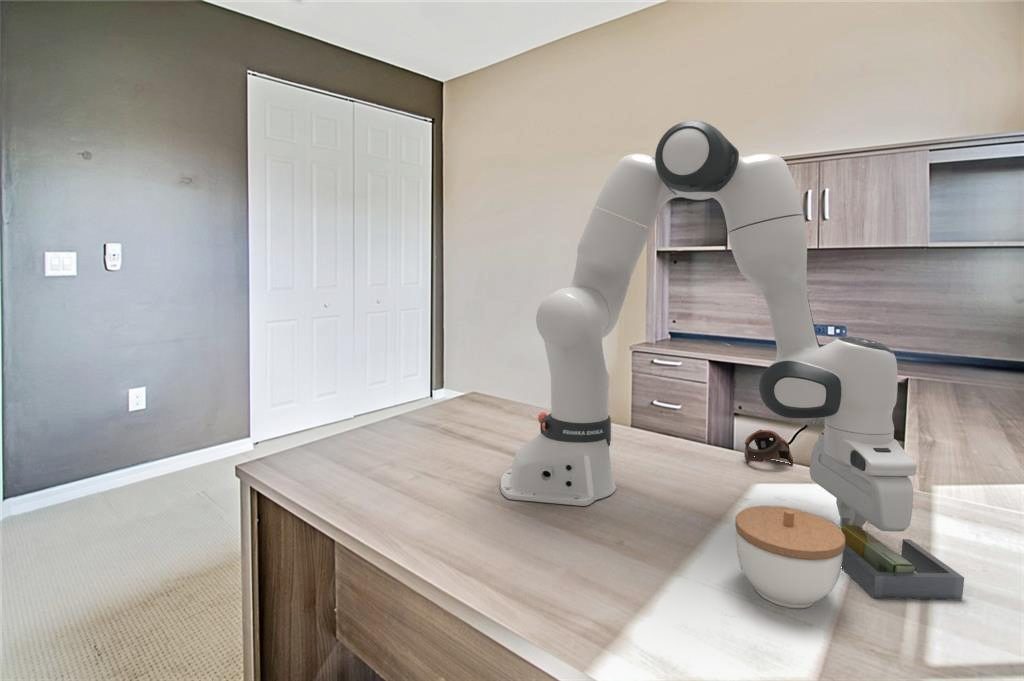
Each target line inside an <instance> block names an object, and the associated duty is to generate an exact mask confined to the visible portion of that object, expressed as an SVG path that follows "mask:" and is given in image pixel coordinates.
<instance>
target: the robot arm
mask: <svg viewBox="0 0 1024 681" xmlns="http://www.w3.org/2000/svg"><path fill="white" fill-rule="evenodd" d="M670 200H671V201H672V202H690V203H704V202H711V201H714V200H716V201H717V202H718V203H719V204H720V207H721V208H722V212H723V215H724V219H725V224H726V229H727V234H728V240H729V244H730V248H731V252H732V256H733V258H734V260H735V263H736V266H737V267H738V270H739V272H740V274H741V275H742V276H743V277H744V278H745V279H746V280H747V281H749V282H750V283H751V284H752V285H753V286H755V288H756V289H757V290H758V292H759V293H760V294H761V295H762V298H763V299H764V301H765V304H766V306H767V308H768V314H769V318H770V322H771V327H772V331H773V335H774V341H775V344H776V356H775V360H774V362H772V363H771V364H770V365H768V367H767V368H766V369H765V370H764V371H763V373H762V374H761V376H760V380H759V384H758V385H759V386H758V389H759V390H758V391H759V396H760V398H761V400H762V402H763V403H764V405H765V407H767V408H768V409H769V410H770V411H771V412H773V413H774V414H775V415H778V416H780V417H784V418H787V419H819V418H824V429H823V430H821V432H820V433H819V434H818V435H817V436H818V437H817V438H818V439H817V440H816V441H814V443H813V445H812V451H811V457H810V462H809V463H810V464H809V476H810V479H811V481H813V482H814V483H815V484H817V485H818V486H819V487H820V488H822V489H824V490H825V491H826V492H828V493H829V494H830V495H832V496H834V497H835V498H836V501H835V502H836V507H837V511H838V515H839V527H841V526H842V525H854V526H859V527H860V528H862V529H863V530H864V525H866V523H867V522H869V524H871V525H872V526H874V527H875V528H876V529H878V530H879V531H880V532H904V531H906V530H907V529H908V528H909V527H910V525H911V522H912V514H913V506H914V486H913V483H912V480H911V478H910V477H914V476H915V475H916V474H917V468H918V467H917V466H918V465H917V462H916V461H915V460H914V459H913V458H912V456H910V455H909V454H908V453H907V452H906V450H904V448H903V446H901V445H900V443H899V442H898V440H897V439H895V438H894V436H895V426H894V421H893V412H894V408H895V406H896V404H897V401H898V399H897V398H898V387H899V386H898V384H899V380H898V379H899V377H898V375H899V374H898V373H899V372H898V361H897V357H896V356H895V353H894V351H892V350H891V349H890V348H889V347H888V346H886V345H885V344H883V343H881V342H877V341H874V340H870V339H867V338H866V339H865V338H862V337H852V336H842V337H840V336H839V337H837V338H836V339H834V340H833V341H831V342H829V343H827V344H825V345H822V346H821V345H820V343H819V340H818V337H817V333H816V329H815V323H814V320H813V315H812V310H811V305H810V300H809V295H808V290H807V288H808V287H807V275H808V274H807V271H808V269H807V268H808V267H807V266H808V265H807V264H808V263H807V262H808V243H807V241H808V238H807V230H806V229H807V228H806V221H805V216H804V212H803V207H802V203H801V199H800V195H799V193H798V189H797V186H796V182H795V180H794V177H793V175H792V173H791V170H790V168H789V166H788V164H787V162H786V161H785V160H784V159H783V158H782V157H781V156H779V155H776V154H774V153H763V152H762V153H756V154H752V155H751V154H750V155H748V156H740V153H739V150H738V148H737V147H735V145H734V144H732V143H731V142H730V140H728V138H726V136H724V134H723V133H722V132H721V131H720V130H719V129H717V128H716V127H715V126H714V125H711V124H710V123H707V122H706V121H702V120H692V119H691V120H685V121H681V122H679V123H677V124H675V125H673V126H672V127H671V128H669V129H668V130H667V131H666V132H665V133H664V134H663V135H662V137H661V138H660V140H659V142H658V144H657V146H656V149H655V155H654V156H650V155H647V154H644V153H631V154H627V155H625V156H623V157H621V158H620V159H619V161H618V162H617V163H616V165H615V166H614V167H613V170H611V173H610V175H609V176H608V178H607V179H606V181H605V183H604V185H603V187H602V188H601V190H600V193H599V195H598V196H597V199H596V200H595V204H594V206H593V208H592V210H591V213H590V215H589V218H588V221H587V223H586V226H585V227H584V230H583V233H582V235H581V238H580V240H579V243H578V245H577V251H576V253H577V258H576V263H575V270H574V273H573V276H572V277H573V278H572V280H571V283H570V285H569V287H562V288H559V289H557V290H556V291H554V292H552V293H551V294H549V295H548V296H547V297H546V298H545V299H544V300H542V302H541V303H540V305H539V306H538V309H537V310H536V314H535V315H536V316H535V324H536V328H537V331H538V334H539V336H541V338H542V339H543V342H544V347H545V351H546V352H545V353H546V357H547V361H548V366H549V372H550V413H549V414H547V413H546V412H540V413H539V414H538V416H537V421H538V422H539V424H540V426H539V427H540V433H538V435H536V436H535V437H534V438H532V439H531V440H530V441H528V442H527V443H526V444H525V443H524V445H523V446H521V447H520V448H519V449H518V450H517V451H516V454H515V456H514V457H513V461H512V464H511V468H510V469H508V470H506V471H505V472H504V473H502V476H501V479H500V486H499V488H500V492H501V494H502V495H503V496H504V497H505V498H506V499H508V500H514V501H525V502H538V503H547V504H548V503H549V504H558V505H570V506H581V507H585V506H586V507H587V506H589V505H591V504H593V503H594V502H595V501H597V500H601V499H604V498H607V497H608V496H609V497H610V495H612V494H614V492H615V491H616V489H617V484H616V482H615V479H614V474H613V468H612V463H611V455H610V446H611V441H612V418H611V417H610V415H609V414H610V413H609V411H610V410H609V408H610V375H609V372H608V370H607V367H606V366H607V365H606V362H605V357H604V356H605V355H604V349H603V347H604V346H603V339H604V338H605V337H607V336H608V335H610V334H611V332H612V331H613V330H614V328H615V327H616V325H617V322H618V320H619V317H620V314H621V311H622V308H623V305H624V302H625V300H626V296H627V293H628V289H629V286H630V283H631V279H632V276H633V273H634V271H635V268H636V266H637V263H638V260H640V259H639V258H640V257H641V254H642V252H643V249H644V247H645V245H646V244H647V241H648V239H649V236H650V234H651V232H652V229H653V227H654V225H655V223H656V220H657V218H658V216H659V214H660V212H661V210H662V209H663V207H664V206H665V204H666V203H668V202H669V201H670Z"/></svg>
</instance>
